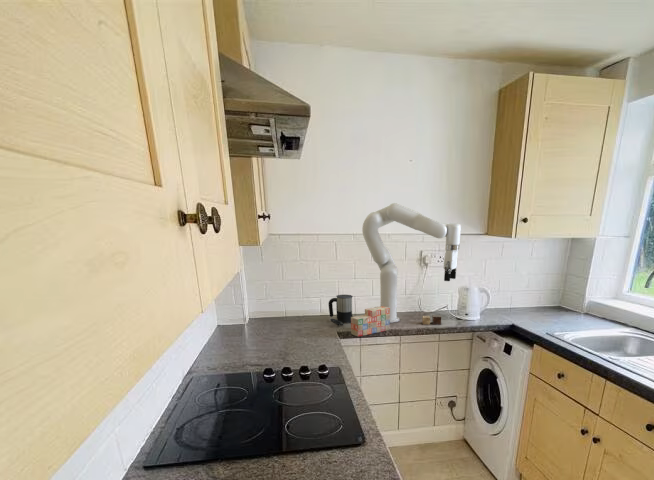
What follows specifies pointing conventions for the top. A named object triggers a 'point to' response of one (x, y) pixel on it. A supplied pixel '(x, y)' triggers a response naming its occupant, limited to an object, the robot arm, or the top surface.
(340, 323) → the milk frother
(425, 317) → the birch block
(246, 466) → the top surface
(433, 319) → the walnut block
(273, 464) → the top surface
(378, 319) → the stack of blocks
